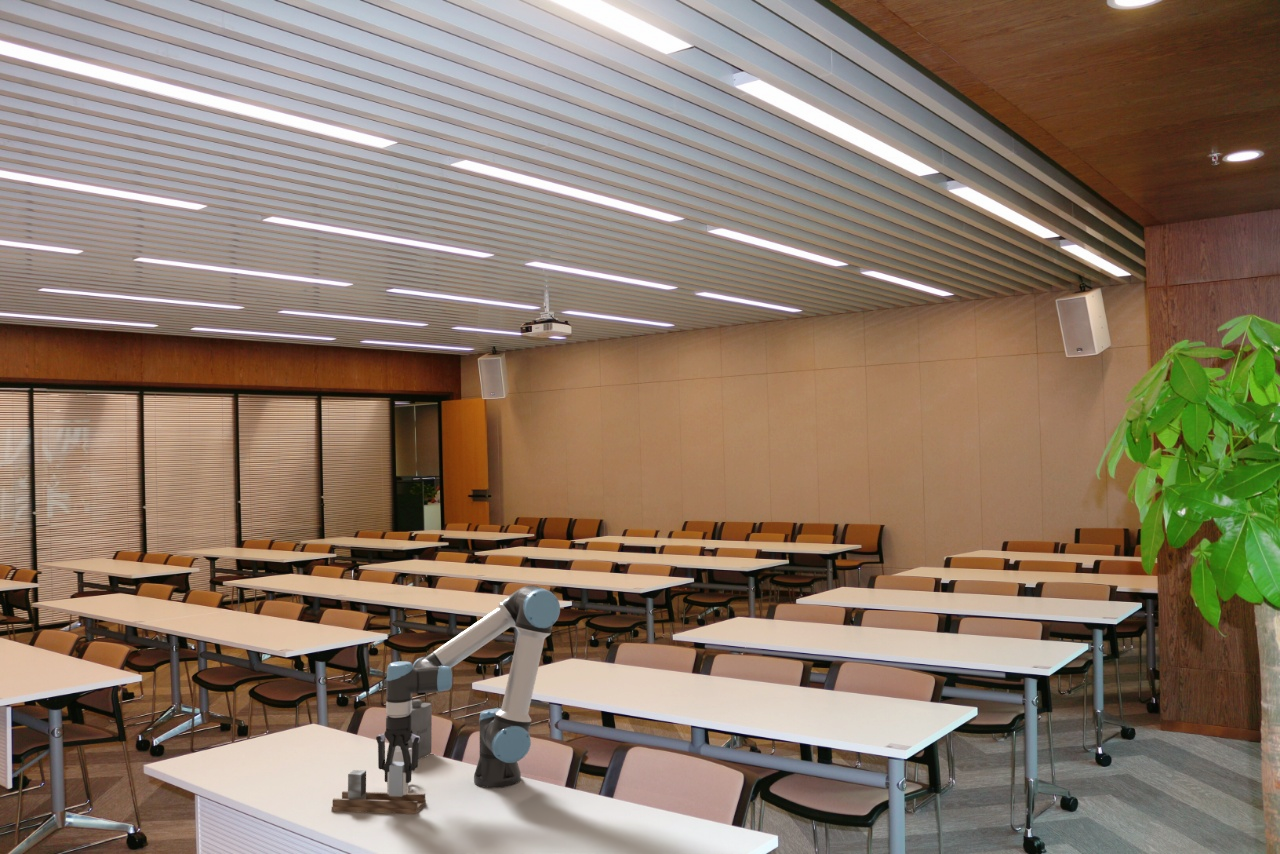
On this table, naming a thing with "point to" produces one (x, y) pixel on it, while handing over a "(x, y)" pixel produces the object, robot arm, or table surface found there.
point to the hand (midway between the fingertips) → (397, 793)
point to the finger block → (396, 779)
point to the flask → (422, 726)
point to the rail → (375, 799)
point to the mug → (399, 754)
